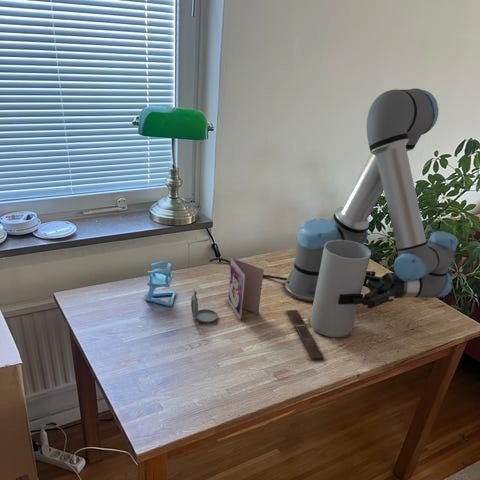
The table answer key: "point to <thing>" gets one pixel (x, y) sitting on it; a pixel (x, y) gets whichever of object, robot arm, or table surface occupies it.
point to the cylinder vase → (338, 286)
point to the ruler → (305, 335)
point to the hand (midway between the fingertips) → (330, 287)
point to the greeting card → (244, 287)
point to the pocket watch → (201, 311)
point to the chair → (160, 283)
